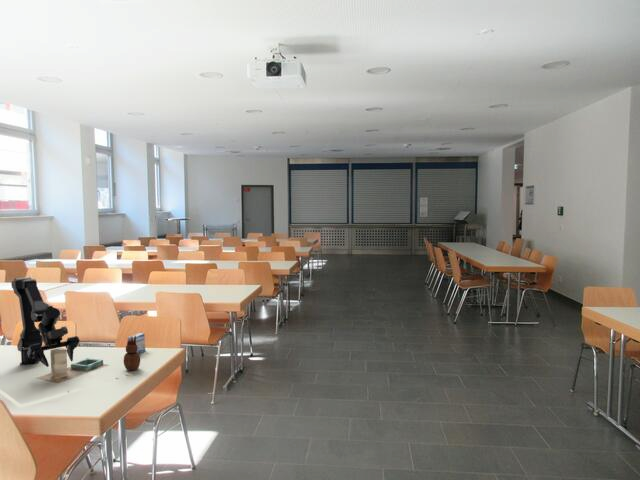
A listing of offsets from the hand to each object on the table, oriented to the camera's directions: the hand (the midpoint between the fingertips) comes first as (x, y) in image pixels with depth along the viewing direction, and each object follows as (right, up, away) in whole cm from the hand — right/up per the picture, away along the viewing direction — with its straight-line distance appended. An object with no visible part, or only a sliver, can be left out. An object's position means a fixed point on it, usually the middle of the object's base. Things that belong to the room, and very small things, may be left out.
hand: (60, 363), depth 192 cm
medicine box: (+17, -5, +37) cm, 41 cm away
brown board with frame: (+2, -6, +7) cm, 10 cm away
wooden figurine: (+25, -6, +11) cm, 28 cm away
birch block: (-1, -6, +1) cm, 6 cm away
